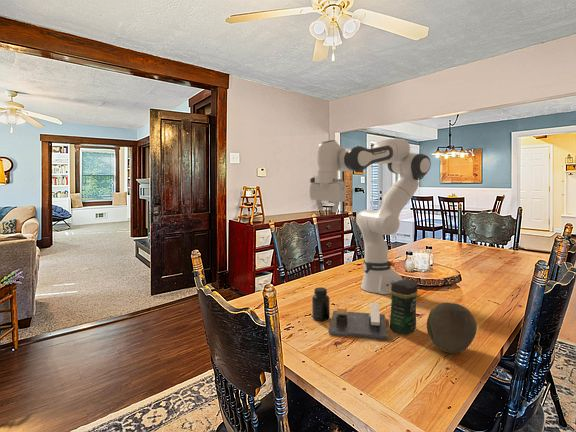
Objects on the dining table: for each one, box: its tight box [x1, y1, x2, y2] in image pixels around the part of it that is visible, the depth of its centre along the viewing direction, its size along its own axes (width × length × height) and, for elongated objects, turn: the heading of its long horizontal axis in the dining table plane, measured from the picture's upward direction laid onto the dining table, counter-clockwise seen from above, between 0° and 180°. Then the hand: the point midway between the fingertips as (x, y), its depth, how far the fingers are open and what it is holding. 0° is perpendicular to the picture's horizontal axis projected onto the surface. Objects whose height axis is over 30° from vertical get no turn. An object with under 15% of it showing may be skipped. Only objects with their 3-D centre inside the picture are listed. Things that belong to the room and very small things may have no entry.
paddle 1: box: [336, 306, 348, 315], centre depth 123 cm, size 10×4×2 cm, turn 167°
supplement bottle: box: [311, 287, 331, 323], centre depth 129 cm, size 7×7×12 cm
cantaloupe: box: [426, 301, 478, 354], centre depth 104 cm, size 14×14×15 cm
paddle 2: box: [369, 302, 381, 326], centre depth 120 cm, size 10×4×2 cm, turn 167°
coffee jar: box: [389, 277, 418, 336], centre depth 118 cm, size 10×8×19 cm
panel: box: [328, 310, 389, 341], centre depth 122 cm, size 18×20×3 cm
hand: (327, 211), depth 141 cm, fingers open, 8 cm apart
